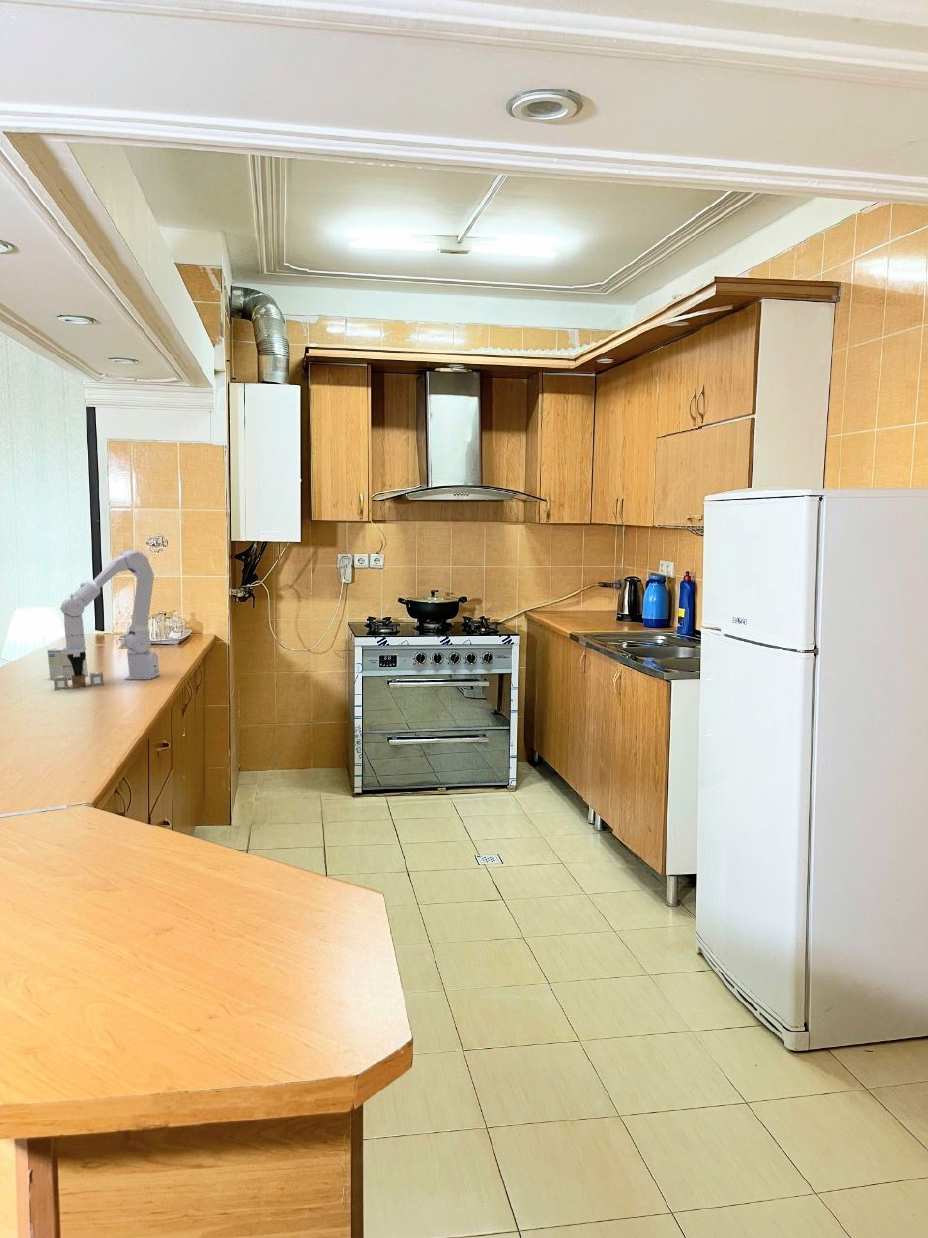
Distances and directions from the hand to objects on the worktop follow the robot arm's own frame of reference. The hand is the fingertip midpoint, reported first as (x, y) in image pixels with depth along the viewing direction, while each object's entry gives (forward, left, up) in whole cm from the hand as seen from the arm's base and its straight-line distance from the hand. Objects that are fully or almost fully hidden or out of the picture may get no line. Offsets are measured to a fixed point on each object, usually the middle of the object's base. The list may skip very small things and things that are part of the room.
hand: (78, 675), depth 295 cm
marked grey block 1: (+5, +3, -4) cm, 7 cm away
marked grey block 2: (-5, -3, -4) cm, 7 cm away
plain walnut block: (0, 0, -4) cm, 4 cm away
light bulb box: (+12, -16, -4) cm, 20 cm away
